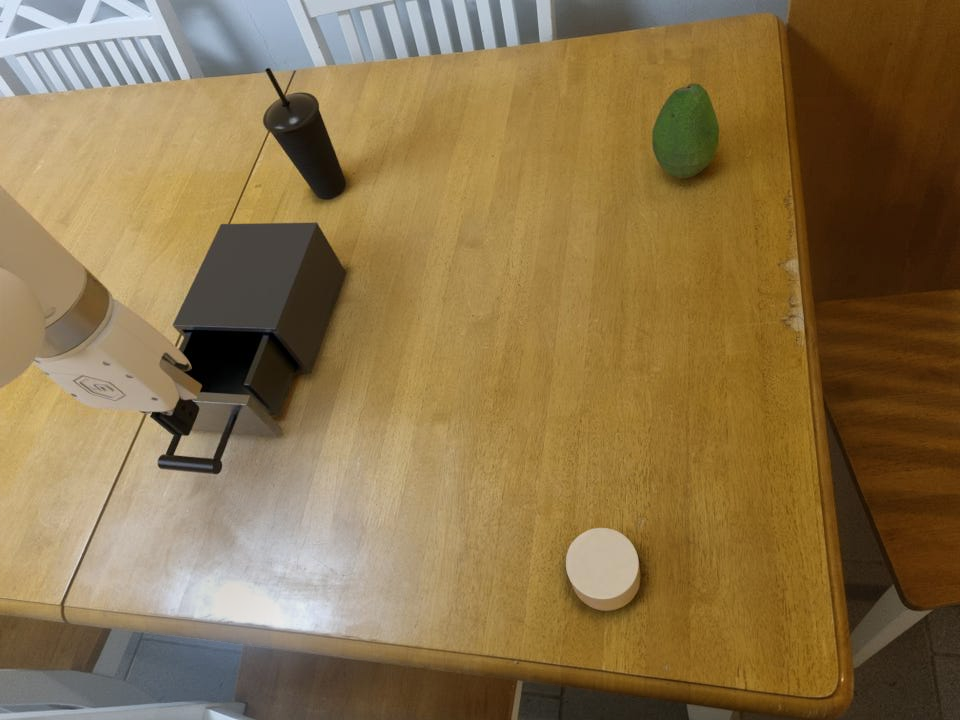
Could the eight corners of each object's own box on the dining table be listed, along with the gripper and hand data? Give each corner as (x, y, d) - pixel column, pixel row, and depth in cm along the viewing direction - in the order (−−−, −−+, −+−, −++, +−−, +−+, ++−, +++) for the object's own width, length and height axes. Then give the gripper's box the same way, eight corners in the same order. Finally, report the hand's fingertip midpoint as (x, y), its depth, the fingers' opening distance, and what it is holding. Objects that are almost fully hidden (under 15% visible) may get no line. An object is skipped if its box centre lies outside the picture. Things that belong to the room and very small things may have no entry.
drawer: (259, 493, 80) (223, 464, 74) (164, 484, 83) (121, 454, 77) (316, 332, 91) (289, 294, 84) (230, 329, 94) (198, 292, 88)
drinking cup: (323, 215, 103) (256, 98, 87) (296, 191, 107) (228, 75, 91) (365, 184, 105) (308, 63, 88) (338, 161, 109) (278, 42, 93)
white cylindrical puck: (613, 625, 65) (610, 614, 62) (557, 582, 69) (551, 569, 65) (654, 568, 67) (653, 555, 64) (597, 528, 70) (593, 513, 67)
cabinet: (311, 373, 88) (275, 328, 81) (214, 368, 92) (171, 325, 84) (346, 272, 96) (317, 222, 88) (256, 271, 100) (220, 223, 92)
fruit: (727, 153, 93) (733, 73, 83) (703, 197, 90) (706, 119, 80) (667, 141, 96) (666, 62, 86) (642, 183, 93) (638, 106, 83)
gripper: (-45, 349, 56) (107, 452, 71) (116, 353, 52) (241, 462, 67) (4, 272, 60) (138, 385, 75) (157, 271, 56) (267, 391, 71)
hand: (187, 421), depth 71 cm, fingers closed
